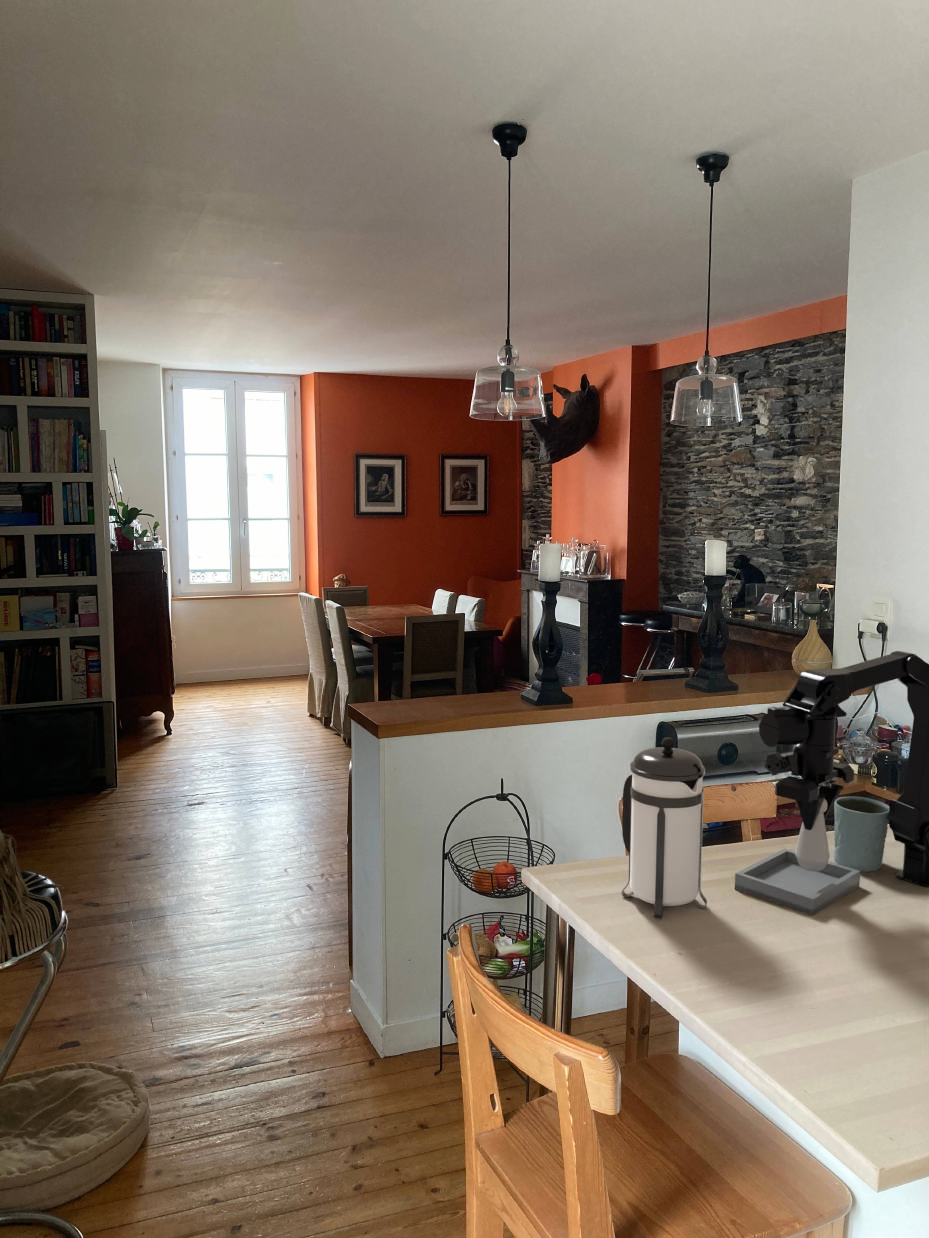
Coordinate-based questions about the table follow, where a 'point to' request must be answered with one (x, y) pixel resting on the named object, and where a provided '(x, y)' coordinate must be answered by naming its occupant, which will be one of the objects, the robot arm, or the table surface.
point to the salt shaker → (813, 844)
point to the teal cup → (860, 832)
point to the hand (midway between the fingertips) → (813, 826)
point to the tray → (796, 882)
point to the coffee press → (664, 826)
